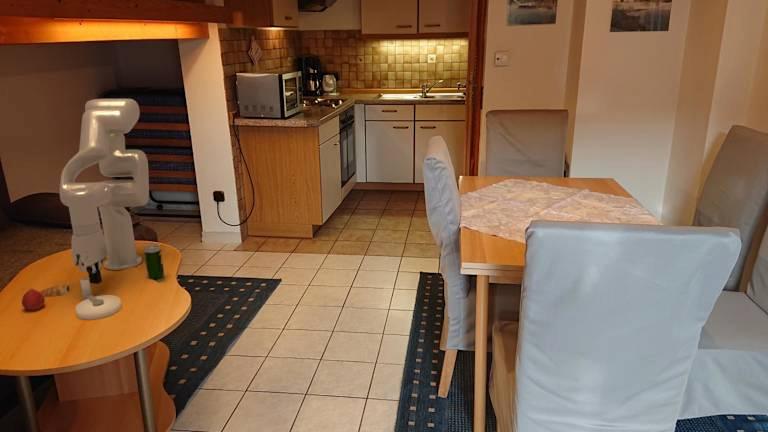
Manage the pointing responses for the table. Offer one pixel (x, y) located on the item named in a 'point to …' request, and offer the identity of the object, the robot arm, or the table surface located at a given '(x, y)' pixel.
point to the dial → (96, 304)
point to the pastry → (56, 290)
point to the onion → (33, 300)
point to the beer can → (154, 262)
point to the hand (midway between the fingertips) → (96, 282)
